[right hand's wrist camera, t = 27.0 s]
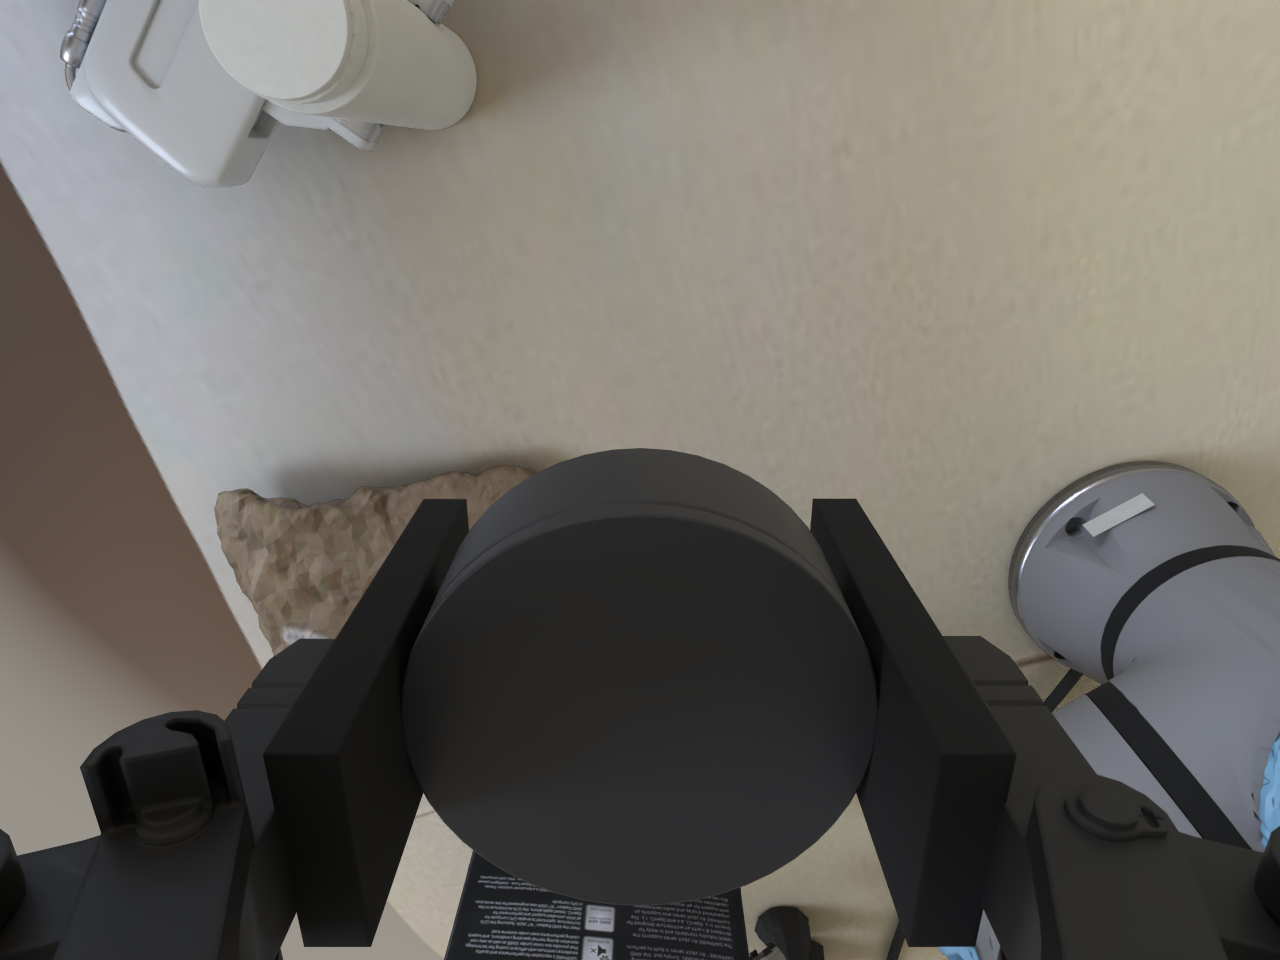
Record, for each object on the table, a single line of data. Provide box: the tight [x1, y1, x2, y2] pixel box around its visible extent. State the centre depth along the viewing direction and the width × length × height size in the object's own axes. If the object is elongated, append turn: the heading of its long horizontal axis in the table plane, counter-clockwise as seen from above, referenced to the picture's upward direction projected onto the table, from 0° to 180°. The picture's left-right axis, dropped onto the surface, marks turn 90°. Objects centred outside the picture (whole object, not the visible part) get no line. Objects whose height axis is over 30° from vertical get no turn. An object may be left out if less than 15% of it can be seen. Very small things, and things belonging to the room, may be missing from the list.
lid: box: [401, 448, 879, 906], centre depth 11 cm, size 6×6×2 cm
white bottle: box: [199, 0, 477, 130], centre depth 35 cm, size 5×5×20 cm
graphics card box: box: [444, 850, 750, 960], centre depth 49 cm, size 17×7×27 cm, turn 84°
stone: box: [215, 465, 538, 656], centre depth 53 cm, size 21×15×6 cm
